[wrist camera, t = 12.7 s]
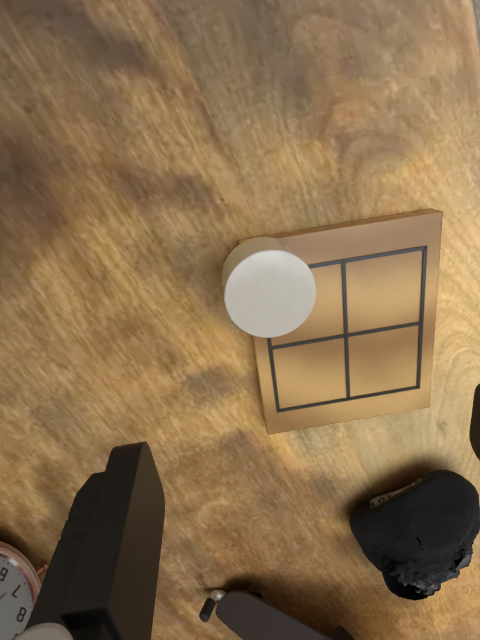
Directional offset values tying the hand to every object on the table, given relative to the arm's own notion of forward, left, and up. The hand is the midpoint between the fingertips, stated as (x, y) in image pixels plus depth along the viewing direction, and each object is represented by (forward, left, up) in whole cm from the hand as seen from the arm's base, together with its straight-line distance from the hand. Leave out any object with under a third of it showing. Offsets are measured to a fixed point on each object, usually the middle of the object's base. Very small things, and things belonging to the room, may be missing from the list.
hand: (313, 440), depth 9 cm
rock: (+23, +11, -16) cm, 30 cm away
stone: (0, +1, -14) cm, 14 cm away
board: (+5, +6, -16) cm, 17 cm away
